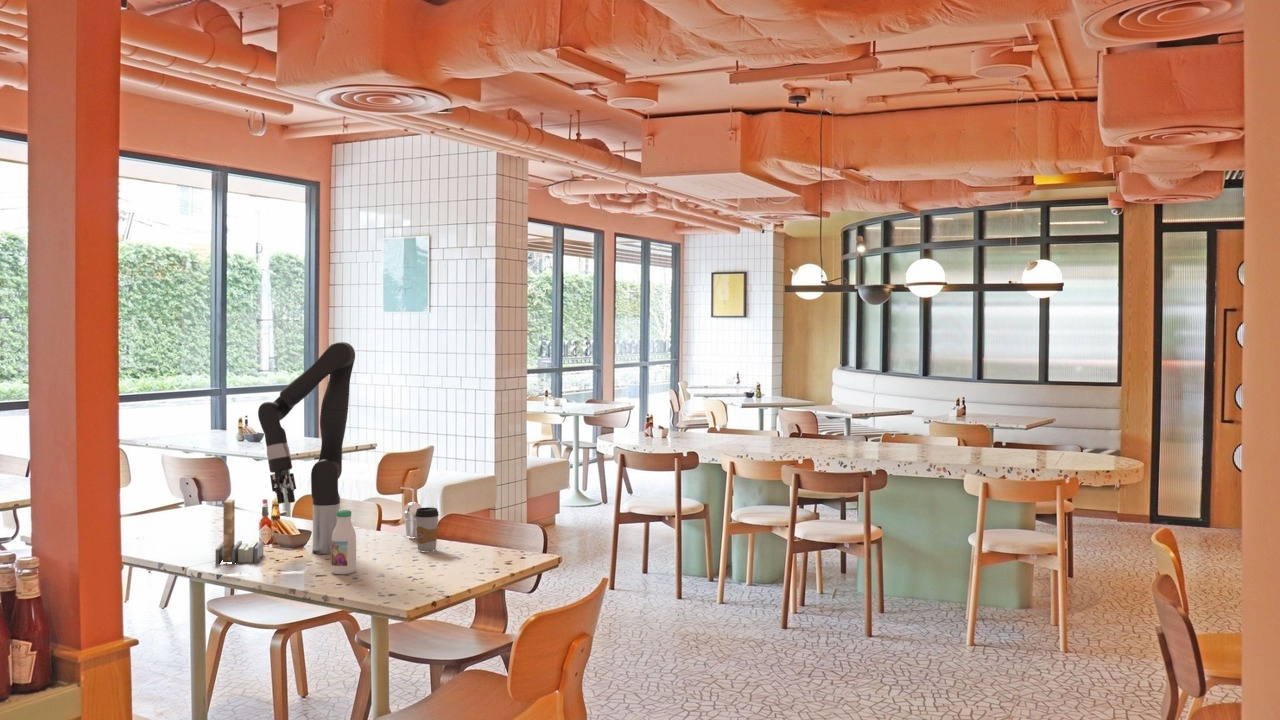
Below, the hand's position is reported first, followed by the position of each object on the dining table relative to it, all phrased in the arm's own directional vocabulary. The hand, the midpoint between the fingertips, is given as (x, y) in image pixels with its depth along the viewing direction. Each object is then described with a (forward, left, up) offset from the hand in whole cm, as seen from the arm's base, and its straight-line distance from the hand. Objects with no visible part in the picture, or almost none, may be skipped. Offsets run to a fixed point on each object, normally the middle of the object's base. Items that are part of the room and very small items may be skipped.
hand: (286, 502), depth 340 cm
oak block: (+17, +9, -17) cm, 26 cm away
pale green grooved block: (+11, +9, -17) cm, 23 cm away
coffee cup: (-48, +2, -19) cm, 52 cm away
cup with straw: (-43, -23, -19) cm, 52 cm away
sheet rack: (+14, +9, -18) cm, 25 cm away
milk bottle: (-21, +31, -19) cm, 42 cm away
